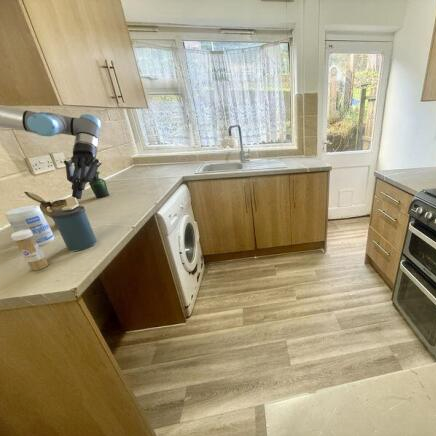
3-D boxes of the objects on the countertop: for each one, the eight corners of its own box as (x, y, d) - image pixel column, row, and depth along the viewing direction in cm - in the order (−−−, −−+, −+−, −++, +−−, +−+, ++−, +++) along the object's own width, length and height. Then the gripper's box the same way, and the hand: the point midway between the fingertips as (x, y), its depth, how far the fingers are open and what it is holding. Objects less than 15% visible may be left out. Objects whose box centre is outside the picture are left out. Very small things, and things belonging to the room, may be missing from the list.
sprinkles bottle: (28, 272, 80) (7, 236, 75) (35, 265, 84) (15, 230, 79) (46, 268, 82) (26, 233, 76) (51, 261, 86) (33, 227, 80)
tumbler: (77, 241, 99) (61, 206, 93) (102, 239, 101) (89, 204, 95) (61, 254, 91) (43, 216, 84) (89, 251, 92) (74, 213, 86)
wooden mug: (45, 225, 115) (26, 189, 108) (81, 217, 122) (65, 183, 115) (41, 232, 108) (21, 194, 101) (79, 223, 115) (63, 187, 108)
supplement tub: (45, 246, 96) (27, 212, 89) (17, 250, 94) (-4, 216, 88) (60, 235, 104) (44, 203, 98) (35, 238, 102) (17, 206, 96)
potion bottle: (94, 197, 154) (83, 168, 146) (109, 193, 159) (99, 166, 151) (95, 200, 148) (83, 170, 141) (111, 196, 153) (100, 168, 145)
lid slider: (69, 206, 93) (66, 198, 91) (79, 205, 93) (75, 197, 92) (62, 210, 89) (58, 202, 88) (71, 209, 89) (68, 201, 88)
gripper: (107, 152, 107) (100, 200, 99) (74, 153, 105) (64, 202, 97) (97, 141, 100) (88, 191, 92) (61, 142, 98) (49, 194, 90)
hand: (76, 197), depth 95 cm, fingers closed
